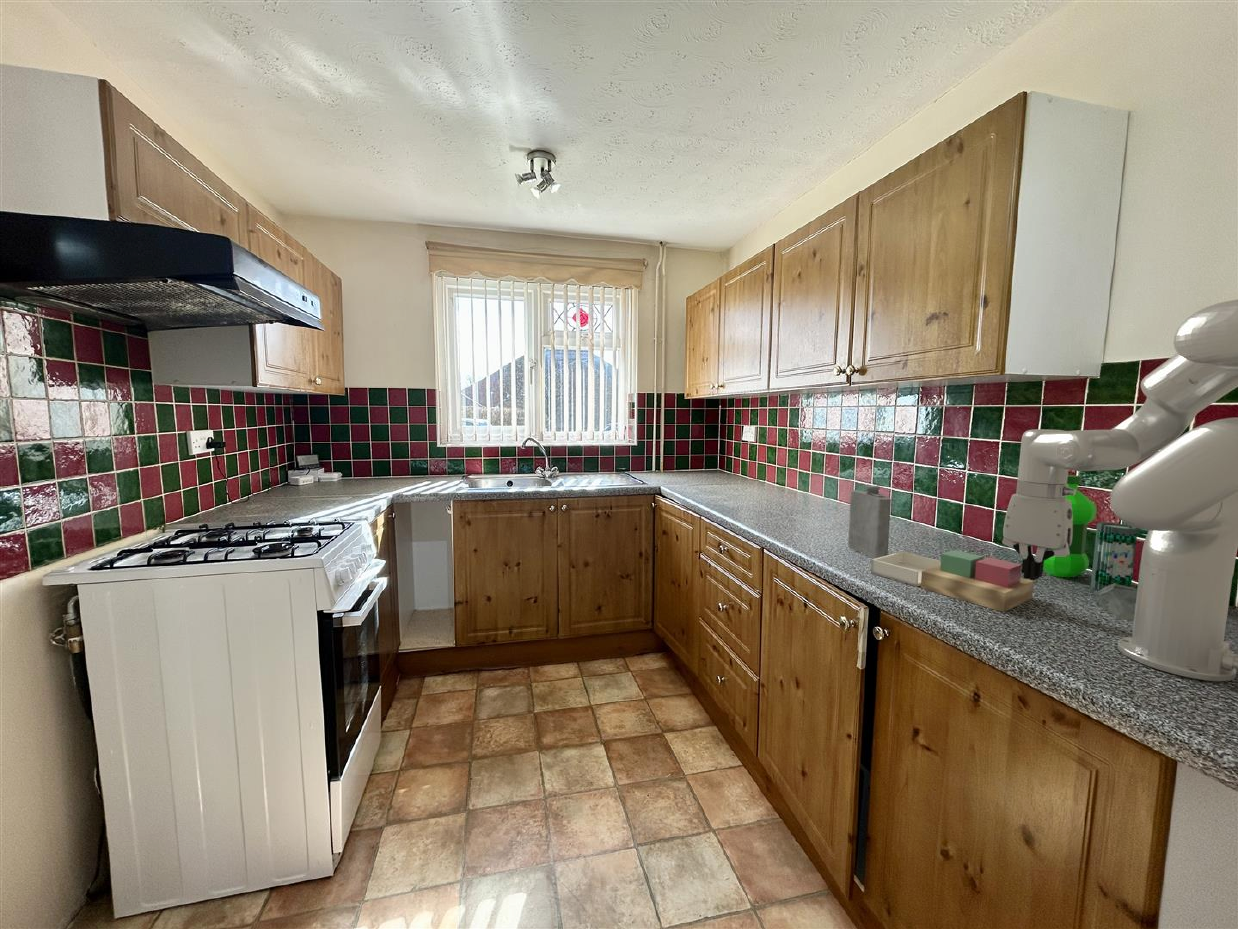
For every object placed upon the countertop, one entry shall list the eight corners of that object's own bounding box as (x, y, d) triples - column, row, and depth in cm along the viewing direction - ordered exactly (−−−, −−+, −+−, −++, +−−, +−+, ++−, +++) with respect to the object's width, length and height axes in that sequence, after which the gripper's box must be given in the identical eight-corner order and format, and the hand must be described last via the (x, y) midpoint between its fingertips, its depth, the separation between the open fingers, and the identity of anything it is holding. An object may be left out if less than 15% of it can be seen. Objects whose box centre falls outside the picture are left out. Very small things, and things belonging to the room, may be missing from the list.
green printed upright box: (1098, 592, 109) (1105, 527, 107) (1086, 583, 114) (1093, 521, 113) (1135, 596, 106) (1143, 529, 105) (1120, 587, 112) (1128, 524, 110)
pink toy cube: (1020, 582, 103) (1021, 564, 103) (1007, 587, 100) (1009, 569, 100) (987, 574, 108) (988, 557, 108) (974, 579, 105) (976, 561, 105)
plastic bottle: (1091, 584, 114) (1102, 479, 111) (1032, 575, 121) (1041, 475, 118) (1087, 574, 121) (1097, 475, 119) (1032, 565, 128) (1041, 472, 126)
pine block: (1032, 598, 105) (1033, 580, 105) (1003, 612, 98) (1005, 593, 97) (951, 577, 119) (952, 561, 118) (920, 587, 111) (921, 571, 111)
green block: (982, 573, 109) (983, 556, 109) (969, 578, 106) (971, 560, 106) (953, 566, 114) (954, 550, 114) (940, 570, 111) (941, 553, 111)
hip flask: (845, 547, 146) (849, 481, 144) (858, 547, 146) (861, 481, 144) (878, 563, 130) (882, 490, 128) (892, 563, 130) (897, 490, 128)
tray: (946, 576, 119) (947, 562, 119) (916, 586, 112) (917, 571, 112) (901, 564, 129) (902, 551, 128) (870, 573, 122) (871, 559, 121)
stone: (1189, 631, 92) (1150, 598, 101) (1194, 614, 91) (1155, 582, 99) (1119, 629, 95) (1087, 597, 104) (1123, 613, 94) (1091, 582, 102)
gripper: (1097, 494, 93) (1086, 586, 95) (1004, 484, 106) (996, 565, 108) (1083, 498, 89) (1071, 594, 91) (988, 486, 102) (980, 571, 104)
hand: (1031, 578), depth 99 cm, fingers closed
